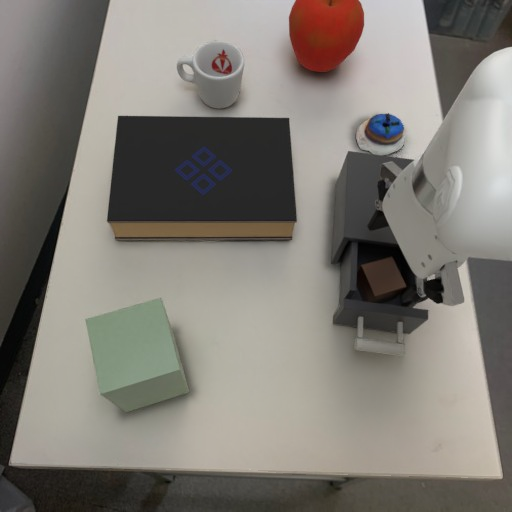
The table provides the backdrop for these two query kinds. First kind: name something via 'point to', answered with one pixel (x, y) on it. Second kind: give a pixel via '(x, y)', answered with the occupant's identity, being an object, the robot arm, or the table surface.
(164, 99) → the table surface
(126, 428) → the table surface
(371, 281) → the block
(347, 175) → the cabinet
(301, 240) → the table surface
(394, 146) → the dessert
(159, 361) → the block
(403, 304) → the drawer
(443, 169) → the robot arm
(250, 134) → the book
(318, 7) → the apple
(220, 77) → the cup
